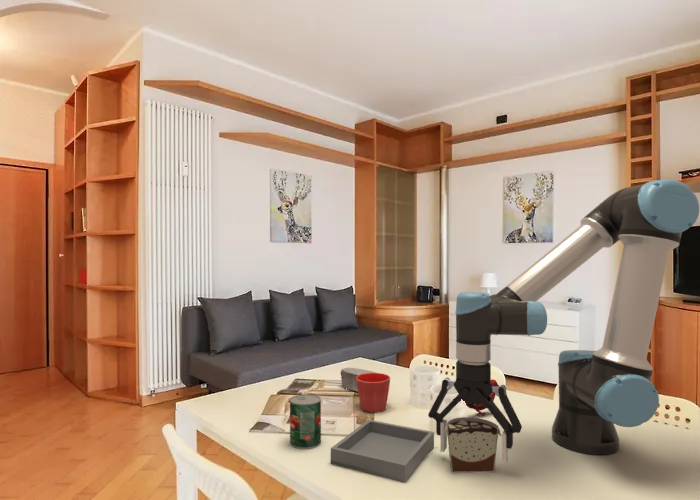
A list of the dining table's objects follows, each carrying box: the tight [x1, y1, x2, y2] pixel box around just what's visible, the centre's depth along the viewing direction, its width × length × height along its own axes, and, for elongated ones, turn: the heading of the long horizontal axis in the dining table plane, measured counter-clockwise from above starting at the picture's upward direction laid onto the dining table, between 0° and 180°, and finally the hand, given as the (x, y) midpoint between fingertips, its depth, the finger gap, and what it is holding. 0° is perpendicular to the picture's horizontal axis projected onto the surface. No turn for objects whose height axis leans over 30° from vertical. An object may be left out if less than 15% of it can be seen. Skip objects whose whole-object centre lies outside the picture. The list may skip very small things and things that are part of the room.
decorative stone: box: [339, 367, 377, 393], centre depth 158 cm, size 15×7×10 cm
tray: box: [330, 419, 435, 483], centre depth 107 cm, size 18×20×4 cm
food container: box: [444, 416, 502, 474], centre depth 101 cm, size 12×6×10 cm, turn 92°
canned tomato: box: [289, 393, 322, 450], centre depth 114 cm, size 8×8×11 cm
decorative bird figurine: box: [465, 379, 500, 416], centre depth 132 cm, size 3×18×10 cm, turn 115°
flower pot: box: [356, 372, 391, 413], centre depth 139 cm, size 11×11×10 cm
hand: (473, 455), depth 101 cm, fingers open, 13 cm apart
